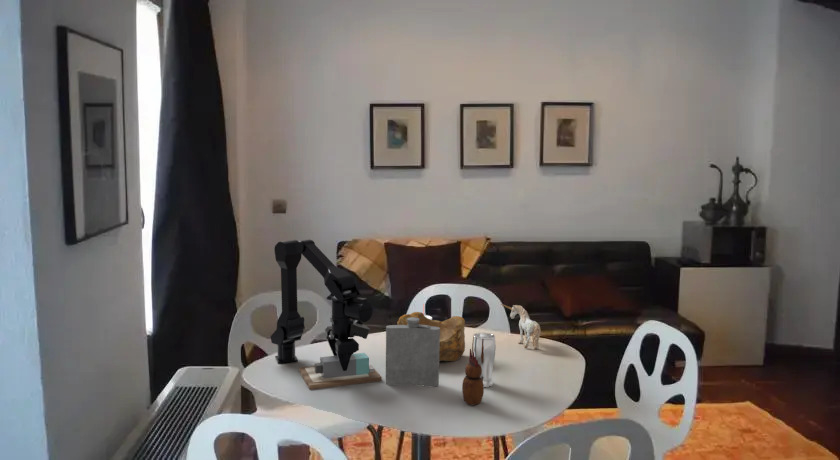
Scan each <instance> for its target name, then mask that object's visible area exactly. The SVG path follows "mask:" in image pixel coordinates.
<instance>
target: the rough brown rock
mask: <svg viewBox="0 0 840 460" xmlns="http://www.w3.org/2000/svg"><path fill="white" fill-rule="evenodd" d="M424 315H425V313H424V314H423V312H421V311H413V312H411V313H410V314H409V313H405V314H403V315H401V316H400V317H399V318H398V321H397V324H396V325H408V322H407V319H408V318H412V317H414V318H419V322H418V323H419V325H428V326H434V327H439V328H440V346H439V362H440V361H445V362H447V361H448V362H458V360H459V359H460V358H461V357H462V356H463V355H464V353H465V348H466V340H465V338H466V337H465V336H466V335H465V329H466V328H465V326H466V321H465V319H464V317H462V316H457V315H456V316H455V315H454V316H452V317H450V318H448V319H445V320H443V321H440V320H437V319H436V320H435V319H432V320H430V319H428V318H426V317H425V316H424Z"/></svg>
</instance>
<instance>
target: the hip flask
mask: <svg viewBox="0 0 840 460" xmlns="http://www.w3.org/2000/svg"><path fill="white" fill-rule="evenodd" d="M407 322H408V325H398V324H392V325H391V324H389V325H386V326H385V385H388V386H417V385H424V386H423V387H429V386H437V387H438V385H439V383H440V361H439V346H440V328H439V327H434V326H428V325H419V323H418V322H419V318H414V317H412V318H408V319H407ZM439 386H440V385H439Z"/></svg>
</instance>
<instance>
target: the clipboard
mask: <svg viewBox="0 0 840 460" xmlns="http://www.w3.org/2000/svg"><path fill="white" fill-rule="evenodd" d="M298 369H299V371H300V372H299V371H298V372H299V373H300V375H301V377H302V379H303V380H304V382H305V384H306V386H307V388H308V389H309V390H316V389H323V388H330V387H331V388H333V387H340V386H341V387H342V386H349V385H357V384H366V383H374V382H383V381H382V375H381V374H380V373H379V372H378V371H377V370H376V369H375V367H374V366H373V365H372V363H370V362H369V374H361V375H352V376H343V377H334V378H325V379H324V378H323V377H322V375H321V373H318V374H316V373H315V365H311V366H301V367H298Z"/></svg>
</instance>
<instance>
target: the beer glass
mask: <svg viewBox="0 0 840 460" xmlns="http://www.w3.org/2000/svg"><path fill="white" fill-rule="evenodd" d="M496 348H497V347H496V335H495V334H494V333H491V332H476V333H473V335H472V346H471V351H472V354H473V352H474V357H476V360H477V361H478V364H480V365H481V368H482V374H481V376H480V378H481V379H482V381H483V385H484V387H486V388H490V387H489V386H491V387H492V386H493V384H494V381H493V367H494V363H495V358H496V351H497V350H496Z"/></svg>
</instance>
